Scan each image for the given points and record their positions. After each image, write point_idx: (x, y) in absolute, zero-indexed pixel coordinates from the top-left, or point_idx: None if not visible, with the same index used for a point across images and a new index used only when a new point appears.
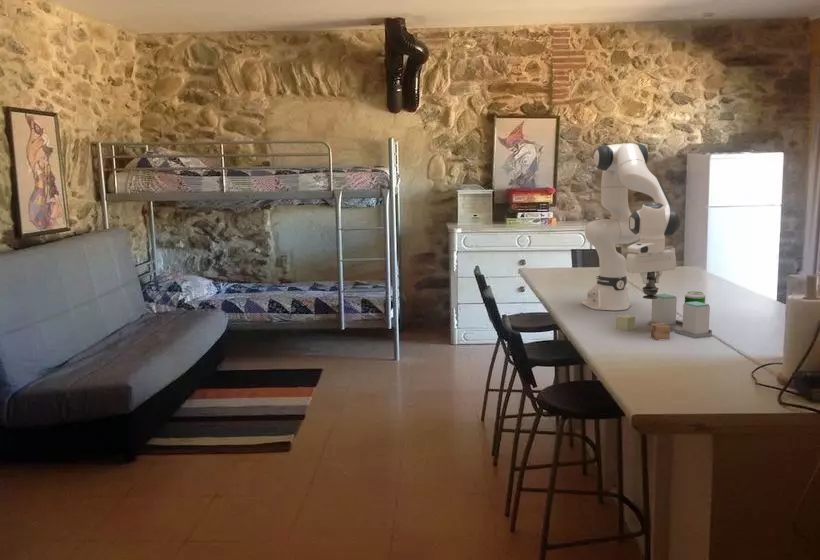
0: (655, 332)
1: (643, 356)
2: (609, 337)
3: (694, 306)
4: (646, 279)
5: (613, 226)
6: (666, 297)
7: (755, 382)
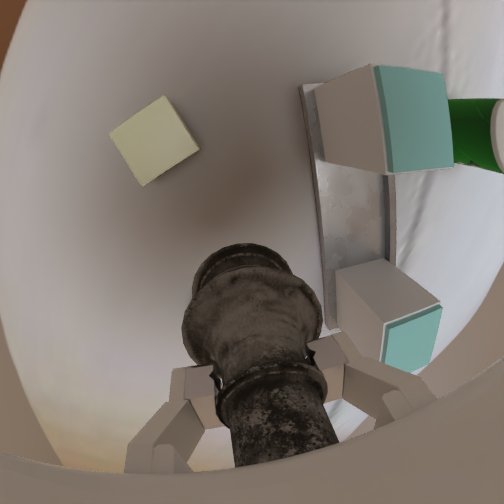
0: None
1: (120, 427)
2: (65, 268)
3: None
4: (198, 430)
5: None
6: (406, 171)
7: None
